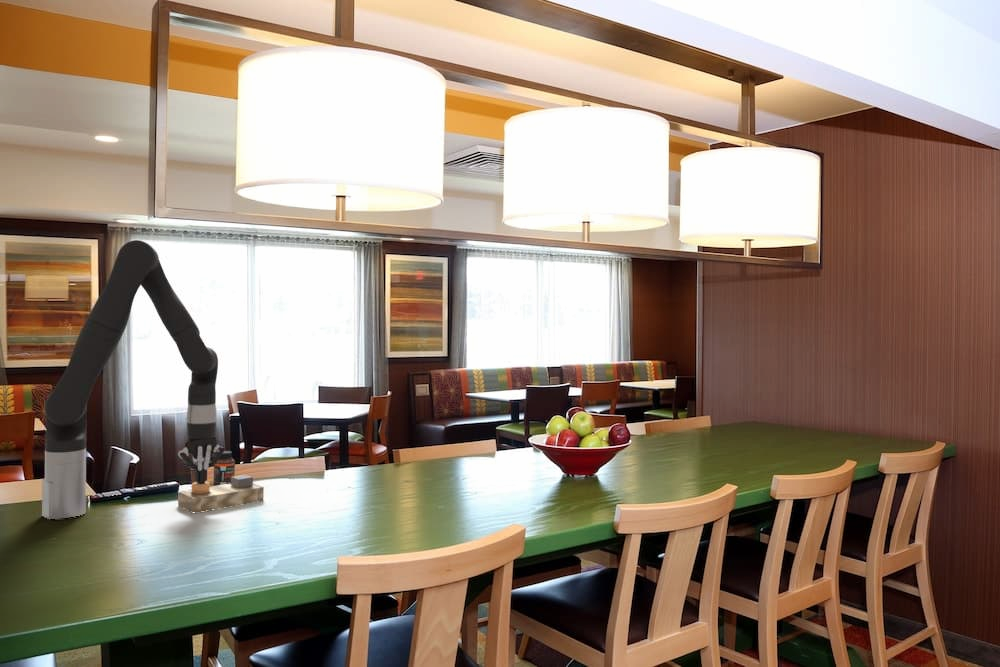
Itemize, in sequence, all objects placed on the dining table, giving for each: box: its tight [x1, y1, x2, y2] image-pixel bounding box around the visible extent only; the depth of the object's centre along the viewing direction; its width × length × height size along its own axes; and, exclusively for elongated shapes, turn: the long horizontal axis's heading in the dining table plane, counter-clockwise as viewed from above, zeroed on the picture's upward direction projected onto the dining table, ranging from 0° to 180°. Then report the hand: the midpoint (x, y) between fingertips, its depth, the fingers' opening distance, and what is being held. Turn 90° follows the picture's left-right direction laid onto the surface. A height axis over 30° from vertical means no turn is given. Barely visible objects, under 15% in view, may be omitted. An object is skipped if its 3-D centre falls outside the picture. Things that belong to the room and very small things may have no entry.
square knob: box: [231, 474, 254, 489], centre depth 212 cm, size 4×4×6 cm
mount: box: [177, 482, 265, 513], centre depth 208 cm, size 20×10×4 cm, turn 136°
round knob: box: [191, 481, 211, 496], centre depth 203 cm, size 5×5×6 cm
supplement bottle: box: [213, 450, 236, 486], centre depth 224 cm, size 6×6×11 cm
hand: (201, 483), depth 203 cm, fingers closed
